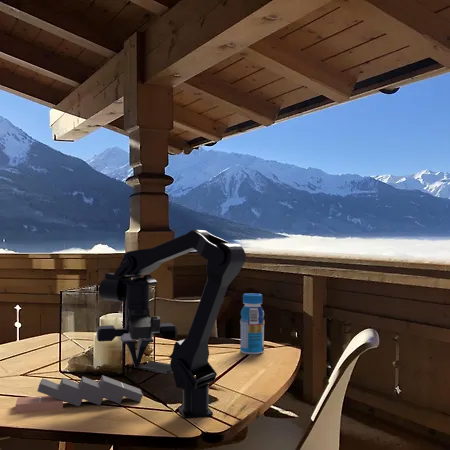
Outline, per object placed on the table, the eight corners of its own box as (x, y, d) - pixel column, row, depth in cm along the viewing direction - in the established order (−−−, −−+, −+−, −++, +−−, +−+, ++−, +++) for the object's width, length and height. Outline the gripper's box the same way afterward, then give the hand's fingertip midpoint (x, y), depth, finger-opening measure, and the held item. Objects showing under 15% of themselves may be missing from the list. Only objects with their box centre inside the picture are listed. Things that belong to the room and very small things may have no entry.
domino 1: (63, 394, 121) (17, 397, 118) (63, 401, 116) (15, 404, 113) (62, 402, 121) (17, 405, 118) (62, 409, 116) (15, 412, 113)
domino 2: (82, 393, 122) (42, 378, 120) (82, 399, 118) (40, 383, 115) (79, 400, 122) (38, 385, 120) (79, 406, 117) (37, 391, 115)
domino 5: (140, 389, 127) (102, 375, 124) (143, 395, 122) (103, 380, 119) (137, 396, 126) (99, 382, 124) (139, 402, 122) (100, 388, 119)
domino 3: (102, 391, 124) (62, 377, 121) (103, 398, 119) (62, 382, 116) (98, 399, 123) (59, 384, 121) (100, 405, 119) (59, 390, 116)
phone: (142, 359, 161) (182, 365, 154) (142, 363, 161) (182, 369, 154) (126, 365, 154) (168, 371, 147) (126, 368, 154) (167, 375, 147)
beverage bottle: (235, 352, 176) (235, 294, 177) (248, 348, 183) (248, 292, 184) (256, 356, 171) (256, 296, 172) (268, 351, 178) (269, 294, 179)
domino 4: (121, 390, 125) (82, 376, 122) (123, 396, 120) (83, 381, 118) (117, 397, 125) (79, 383, 122) (120, 404, 120) (79, 389, 117)
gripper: (100, 308, 114) (98, 379, 113) (182, 306, 119) (181, 373, 119) (97, 302, 124) (95, 367, 124) (172, 300, 130) (172, 362, 130)
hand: (136, 367), depth 124 cm, fingers closed
